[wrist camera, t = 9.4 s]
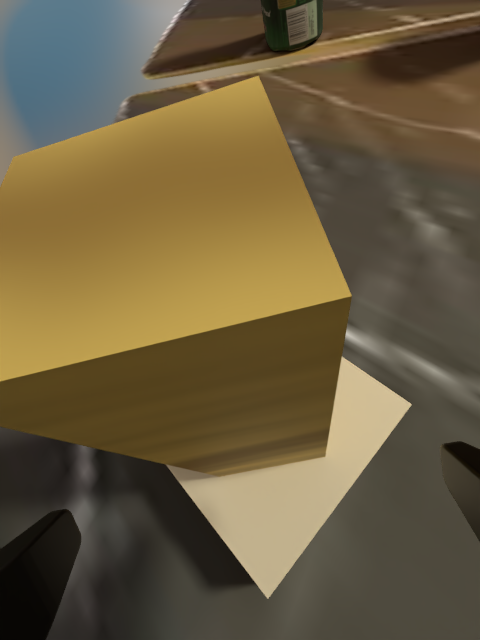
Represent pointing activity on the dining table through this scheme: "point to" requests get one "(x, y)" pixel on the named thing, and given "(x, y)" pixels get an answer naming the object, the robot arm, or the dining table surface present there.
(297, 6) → the coffee jar
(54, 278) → the pillar block
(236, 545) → the plinth
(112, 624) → the dining table surface
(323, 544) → the dining table surface
